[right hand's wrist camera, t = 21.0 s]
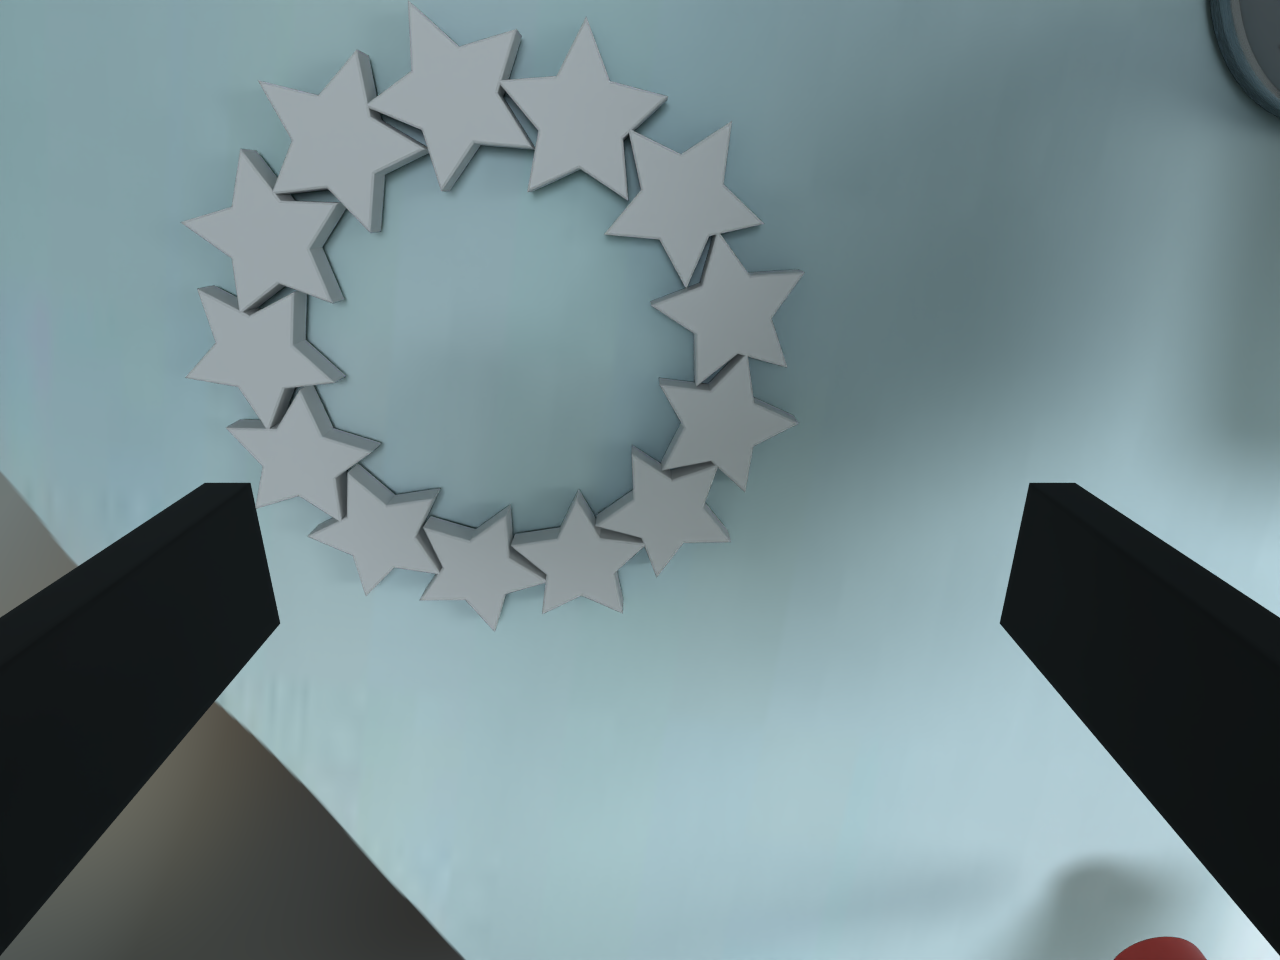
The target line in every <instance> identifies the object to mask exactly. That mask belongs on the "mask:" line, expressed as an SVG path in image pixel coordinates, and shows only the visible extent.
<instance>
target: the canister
mask: <svg viewBox="0 0 1280 960" xmlns="http://www.w3.org/2000/svg"><path fill="white" fill-rule="evenodd" d="M1114 960H1207V959H1206V958H1205V957H1204V955H1203V954H1202V953H1201V951H1200V950H1199V949H1198V948H1197V947H1196V946H1195V945H1194V944H1192V943H1191V942H1189V941H1187V940H1184V939H1181V938H1176V937H1157V938H1151V939H1147V940H1143V941H1140V942H1138V943H1136V944H1133V945H1132V946H1130V947H1128V948H1126V949H1125V950H1123V951H1122V952H1121V953H1120V954H1119V955H1118V956H1116V958H1115V959H1114Z"/></svg>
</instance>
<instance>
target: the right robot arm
mask: <svg viewBox="0 0 1280 960" xmlns="http://www.w3.org/2000/svg"><path fill="white" fill-rule="evenodd" d="M1210 6H1211V15H1212V21H1213V26H1214V31H1215V35H1216V38H1217V41H1218V45H1219V48H1220V51H1221V53H1222V55H1223V58H1224V60H1225V62H1226V64H1227V66H1228V68H1229V70H1230V71H1231V73H1232V75H1233V76H1234V78H1235V80H1236V81H1237V82H1238V83H1239V85H1240V86H1241V87H1242V89H1243V90H1244V91H1245V92H1246V93H1247V94H1248V95H1249V96H1250V97H1251V98H1252V99H1253V100H1254V101H1255V102H1256V103H1257V104H1259V105H1260V106H1261V107H1263V108H1264V109H1265V110H1267V111H1268V112H1270V113H1272V114H1273V115H1275V116H1277V117H1279V118H1280V0H1210ZM279 624H280V620H279V616H278V611H277V606H276V601H275V597H274V592H273V587H272V582H271V578H270V573H269V568H268V564H267V559H266V554H265V549H264V545H263V540H262V535H261V530H260V526H259V521H258V516H257V512H256V507H255V502H254V497H253V493H252V488H251V483H204V484H203V485H201V486H200V487H198V488H196V489H195V490H193V491H192V492H190V493H189V494H187V495H186V496H184V497H183V498H181V499H180V500H178V501H177V502H175V503H174V504H172V505H171V506H169V507H168V508H166V509H165V510H163V511H162V512H160V513H159V514H157V515H155V516H154V517H152V518H151V519H149V520H148V521H146V522H145V523H143V524H142V525H140V526H139V527H137V528H136V529H134V530H133V531H131V532H130V533H128V534H127V535H125V536H124V537H122V538H121V539H119V540H118V541H116V542H114V543H113V544H111V545H110V546H108V547H107V548H105V549H104V550H102V551H101V552H99V553H98V554H96V555H95V556H93V557H92V558H90V559H89V560H87V561H86V562H84V563H83V564H81V565H80V566H78V567H77V568H75V569H73V570H72V571H71V572H69V573H68V574H66V575H64V576H63V577H61V578H60V579H58V580H57V581H55V582H54V583H52V584H51V585H49V586H48V587H46V588H45V589H43V590H42V591H40V592H39V593H37V594H36V595H34V596H32V597H31V598H30V599H28V600H26V601H25V602H23V603H22V604H20V605H19V606H17V607H16V608H14V609H13V610H11V611H10V612H8V613H7V614H5V615H4V616H2V617H1V618H0V955H1V954H2V953H3V952H4V951H5V949H6V948H7V947H8V946H9V945H10V943H11V942H12V941H13V940H14V939H15V938H16V936H17V935H18V934H19V933H20V932H21V930H22V929H23V928H24V927H25V926H26V924H27V923H28V922H29V921H30V920H31V918H32V917H33V916H34V915H35V914H36V913H37V911H38V910H39V909H40V908H41V907H42V905H43V904H44V903H45V902H46V901H47V900H48V898H49V897H50V896H51V895H52V894H53V892H54V891H55V890H56V889H57V888H58V886H59V885H60V884H61V883H62V882H63V881H64V879H65V878H66V877H67V876H68V875H69V873H70V872H71V871H72V870H73V869H74V867H75V866H76V865H77V864H78V863H79V862H80V860H81V859H82V858H83V857H84V856H85V854H86V853H87V852H88V851H89V850H90V848H91V847H92V846H93V845H94V844H95V843H96V841H97V840H98V839H99V838H100V837H101V835H102V834H103V833H104V832H105V831H106V829H107V828H108V827H109V826H110V825H111V823H112V822H113V821H114V820H115V819H116V818H117V816H118V815H119V814H120V813H121V812H122V811H123V809H124V808H125V807H126V806H127V805H128V803H129V802H130V801H131V800H132V799H133V797H134V796H135V795H136V794H137V793H138V791H139V790H140V789H141V788H142V787H143V786H144V784H145V783H146V782H147V781H148V780H149V778H150V777H151V776H152V775H153V774H154V773H155V771H156V770H157V769H158V768H159V767H160V765H161V764H162V763H163V762H164V761H165V760H166V758H167V757H168V756H169V755H170V754H171V752H172V751H173V750H174V749H175V748H176V746H177V745H178V744H179V743H180V742H181V740H182V739H183V738H184V737H185V736H186V735H187V733H188V732H189V731H190V730H191V729H192V727H193V726H194V725H195V724H196V723H197V722H198V720H199V719H200V718H201V717H202V716H203V714H204V713H205V712H206V711H207V710H208V708H209V707H210V706H211V705H212V704H213V703H214V701H215V700H216V699H217V698H218V697H219V695H220V694H221V693H222V692H223V691H224V689H225V688H226V687H227V686H228V685H229V684H230V682H231V681H232V680H233V679H234V678H235V676H236V675H237V674H238V673H239V672H240V671H241V669H242V668H243V667H244V666H245V665H246V663H247V662H248V661H249V660H250V659H251V657H252V656H253V655H254V654H255V653H256V652H257V650H258V649H259V648H260V647H261V646H262V644H263V643H264V642H265V641H266V640H267V638H268V637H269V636H270V635H271V634H272V633H273V631H274V630H275V629H276V628H277V627H278V625H279ZM1000 624H1001V625H1002V627H1003V628H1004V629H1005V630H1006V631H1007V633H1008V634H1009V635H1010V636H1011V637H1012V638H1013V640H1014V641H1015V642H1016V643H1017V644H1018V646H1019V647H1020V648H1021V649H1022V650H1023V652H1024V653H1025V654H1026V655H1027V656H1028V657H1029V659H1030V660H1031V661H1032V662H1033V663H1034V665H1035V666H1036V667H1037V668H1038V669H1039V671H1040V672H1041V673H1042V674H1043V675H1044V676H1045V678H1046V679H1047V680H1048V681H1049V682H1050V684H1051V685H1052V686H1053V687H1054V688H1055V689H1056V691H1057V692H1058V693H1059V694H1060V695H1061V697H1062V698H1063V699H1064V700H1065V701H1066V703H1067V704H1068V705H1069V706H1070V707H1071V708H1072V710H1073V711H1074V712H1075V713H1076V714H1077V716H1078V717H1079V718H1080V719H1081V720H1082V722H1083V723H1084V724H1085V725H1086V726H1087V727H1088V729H1089V730H1090V731H1091V732H1092V733H1093V735H1094V736H1095V737H1096V738H1097V739H1098V741H1099V742H1100V743H1101V744H1102V745H1103V746H1104V748H1105V749H1106V750H1107V751H1108V752H1109V754H1110V755H1111V756H1112V757H1113V758H1114V760H1115V761H1116V762H1117V763H1118V764H1119V765H1120V767H1121V768H1122V769H1123V770H1124V771H1125V773H1126V774H1127V775H1128V776H1129V777H1130V778H1131V780H1132V781H1133V782H1134V783H1135V784H1136V786H1137V787H1138V788H1139V789H1140V790H1141V792H1142V793H1143V794H1144V795H1145V796H1146V797H1147V799H1148V800H1149V801H1150V802H1151V803H1152V805H1153V806H1154V807H1155V808H1156V809H1157V811H1158V812H1159V813H1160V814H1161V815H1162V816H1163V818H1164V819H1165V820H1166V821H1167V822H1168V824H1169V825H1170V826H1171V827H1172V828H1173V830H1174V831H1175V832H1176V833H1177V834H1178V835H1179V837H1180V838H1181V839H1182V840H1183V841H1184V843H1185V844H1186V845H1187V846H1188V847H1189V849H1190V850H1191V851H1192V852H1193V853H1194V854H1195V856H1196V857H1197V858H1198V859H1199V860H1200V862H1201V863H1202V864H1203V865H1204V866H1205V868H1206V869H1207V870H1208V871H1209V872H1210V873H1211V875H1212V876H1213V877H1214V878H1215V879H1216V881H1217V882H1218V883H1219V884H1220V885H1221V886H1222V888H1223V889H1224V890H1225V891H1226V892H1227V894H1228V895H1229V896H1230V897H1231V898H1232V900H1233V901H1234V902H1235V903H1236V904H1237V905H1238V907H1239V908H1240V909H1241V910H1242V911H1243V913H1244V914H1245V915H1246V916H1247V917H1248V919H1249V920H1250V921H1251V922H1252V923H1253V924H1254V926H1255V927H1256V928H1257V929H1258V930H1259V932H1260V933H1261V934H1262V935H1263V936H1264V938H1265V939H1266V940H1267V941H1268V942H1269V943H1270V945H1271V946H1272V947H1273V948H1274V949H1275V951H1276V952H1277V953H1278V954H1279V955H1280V618H1279V617H1278V616H1276V615H1275V614H1273V613H1272V612H1270V611H1269V610H1267V609H1266V608H1264V607H1263V606H1261V605H1260V604H1258V603H1257V602H1255V601H1254V600H1252V599H1251V598H1249V597H1248V596H1246V595H1244V594H1243V593H1241V592H1240V591H1238V590H1237V589H1235V588H1234V587H1232V586H1231V585H1229V584H1228V583H1226V582H1225V581H1223V580H1222V579H1220V578H1219V577H1217V576H1216V575H1214V574H1213V573H1211V572H1210V571H1208V570H1207V569H1205V568H1203V567H1202V566H1200V565H1199V564H1197V563H1196V562H1194V561H1193V560H1191V559H1190V558H1188V557H1187V556H1185V555H1184V554H1182V553H1181V552H1179V551H1178V550H1176V549H1175V548H1173V547H1172V546H1170V545H1169V544H1167V543H1166V542H1164V541H1162V540H1161V539H1159V538H1158V537H1156V536H1155V535H1153V534H1152V533H1150V532H1149V531H1147V530H1146V529H1144V528H1143V527H1141V526H1140V525H1138V524H1137V523H1135V522H1134V521H1132V520H1131V519H1129V518H1128V517H1126V516H1125V515H1123V514H1121V513H1120V512H1118V511H1117V510H1115V509H1114V508H1112V507H1111V506H1109V505H1108V504H1106V503H1105V502H1103V501H1102V500H1100V499H1099V498H1097V497H1096V496H1094V495H1093V494H1091V493H1090V492H1088V491H1087V490H1085V489H1084V488H1082V487H1080V486H1079V485H1077V484H1076V483H1029V488H1028V493H1027V497H1026V502H1025V507H1024V512H1023V516H1022V521H1021V526H1020V530H1019V535H1018V540H1017V545H1016V549H1015V554H1014V559H1013V564H1012V568H1011V573H1010V578H1009V582H1008V587H1007V592H1006V597H1005V601H1004V606H1003V611H1002V616H1001V620H1000Z"/></svg>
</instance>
